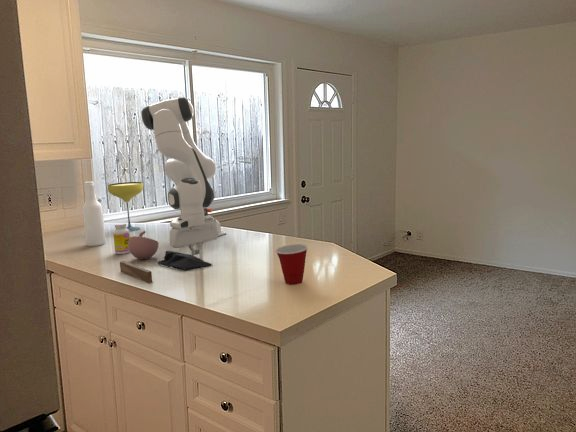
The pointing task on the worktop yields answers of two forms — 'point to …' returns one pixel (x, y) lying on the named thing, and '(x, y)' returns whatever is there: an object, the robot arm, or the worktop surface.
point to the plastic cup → (292, 262)
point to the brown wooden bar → (136, 272)
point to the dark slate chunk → (183, 261)
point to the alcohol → (93, 218)
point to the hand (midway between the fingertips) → (196, 254)
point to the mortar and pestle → (142, 246)
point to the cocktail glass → (126, 194)
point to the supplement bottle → (121, 238)
